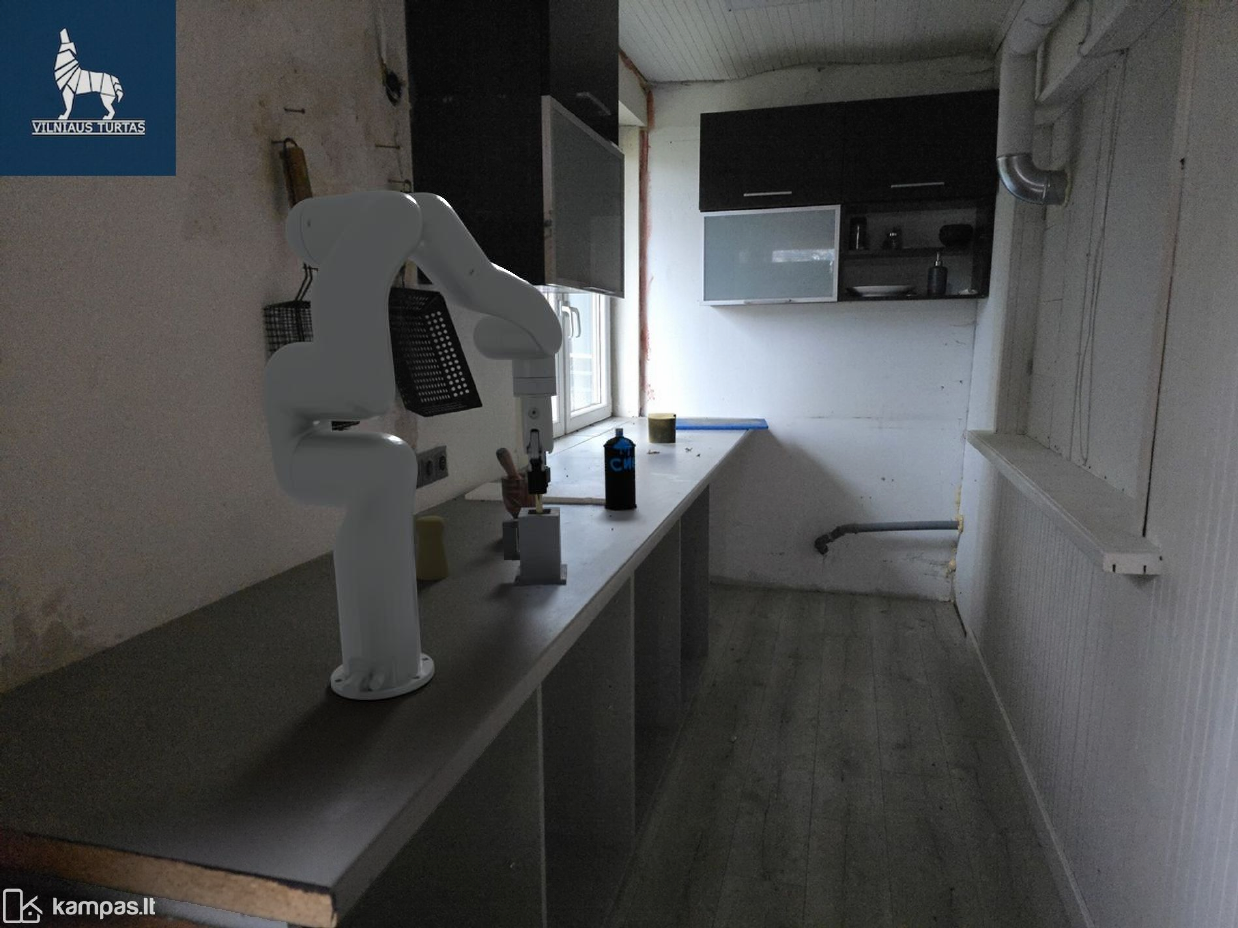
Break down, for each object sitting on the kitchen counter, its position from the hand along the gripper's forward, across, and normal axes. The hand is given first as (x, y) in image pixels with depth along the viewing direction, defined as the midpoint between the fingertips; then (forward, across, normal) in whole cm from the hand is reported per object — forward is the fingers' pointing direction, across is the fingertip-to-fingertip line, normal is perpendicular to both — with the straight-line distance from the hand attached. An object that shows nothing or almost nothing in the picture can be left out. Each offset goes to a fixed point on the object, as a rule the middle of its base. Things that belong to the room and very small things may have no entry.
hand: (538, 489), depth 134 cm
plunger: (+11, 0, 0) cm, 11 cm away
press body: (+16, 0, +1) cm, 16 cm away
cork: (+16, +3, +20) cm, 26 cm away
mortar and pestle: (+16, +30, +6) cm, 35 cm away
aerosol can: (+16, +55, -17) cm, 60 cm away
